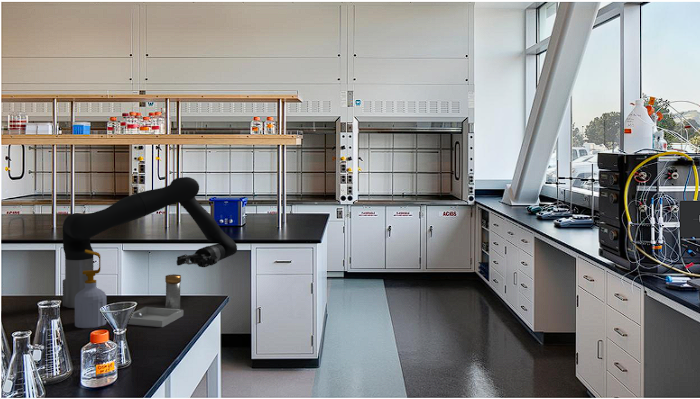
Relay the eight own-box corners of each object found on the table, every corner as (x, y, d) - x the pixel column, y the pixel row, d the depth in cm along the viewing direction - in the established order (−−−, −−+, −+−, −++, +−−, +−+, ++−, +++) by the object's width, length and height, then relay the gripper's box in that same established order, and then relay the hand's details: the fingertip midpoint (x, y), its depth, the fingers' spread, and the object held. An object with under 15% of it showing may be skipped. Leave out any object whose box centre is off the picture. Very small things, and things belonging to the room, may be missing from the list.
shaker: (162, 313, 199) (162, 276, 198) (169, 310, 204) (170, 274, 203) (176, 315, 198) (176, 277, 197) (183, 311, 203) (183, 275, 203)
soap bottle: (75, 324, 184) (75, 248, 182) (106, 321, 188) (106, 247, 186) (74, 332, 176) (73, 252, 174) (106, 329, 179) (106, 251, 178)
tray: (121, 326, 183) (121, 317, 183) (145, 315, 197) (145, 306, 197) (162, 330, 180) (162, 320, 180) (183, 318, 194) (183, 309, 194)
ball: (131, 322, 185) (131, 313, 184) (136, 319, 187) (136, 310, 187) (139, 323, 184) (139, 313, 184) (144, 320, 187) (144, 311, 187)
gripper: (190, 245, 228) (170, 252, 212) (224, 247, 226) (206, 254, 210) (190, 264, 229) (170, 272, 213) (224, 266, 226) (206, 274, 210)
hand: (188, 263), depth 211 cm, fingers open, 8 cm apart
